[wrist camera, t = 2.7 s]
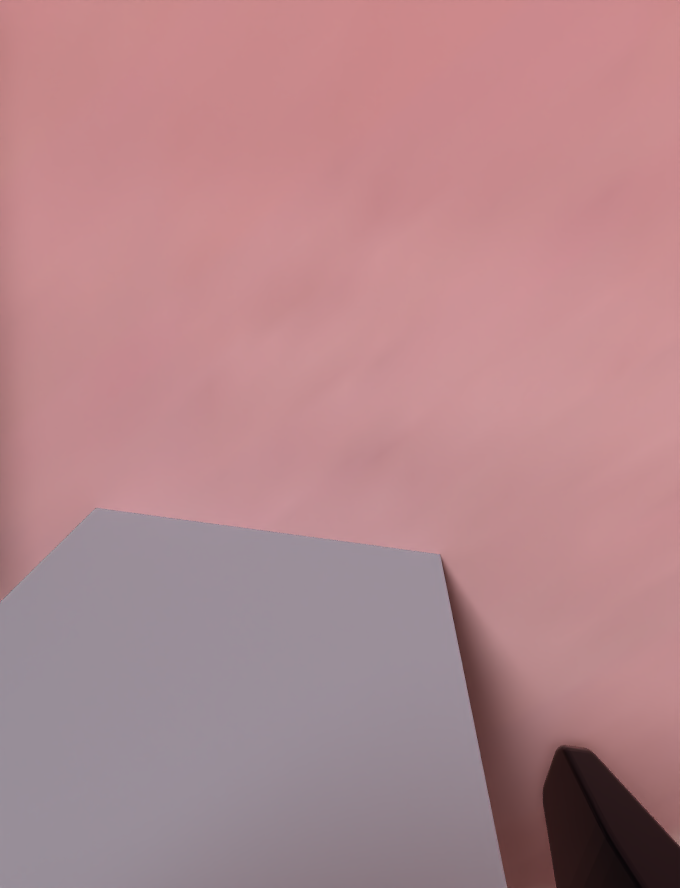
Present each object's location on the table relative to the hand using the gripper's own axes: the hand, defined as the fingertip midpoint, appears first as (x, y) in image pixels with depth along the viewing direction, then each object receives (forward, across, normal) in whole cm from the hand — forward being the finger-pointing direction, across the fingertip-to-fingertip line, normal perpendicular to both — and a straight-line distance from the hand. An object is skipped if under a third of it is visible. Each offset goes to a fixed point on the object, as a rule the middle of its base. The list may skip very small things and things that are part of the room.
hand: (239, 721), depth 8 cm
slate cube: (+1, 0, 0) cm, 1 cm away
